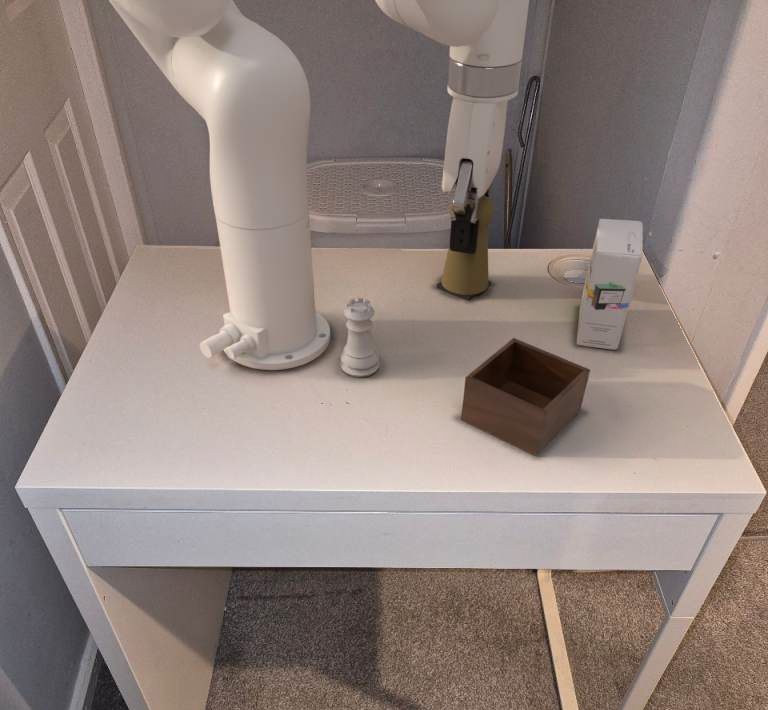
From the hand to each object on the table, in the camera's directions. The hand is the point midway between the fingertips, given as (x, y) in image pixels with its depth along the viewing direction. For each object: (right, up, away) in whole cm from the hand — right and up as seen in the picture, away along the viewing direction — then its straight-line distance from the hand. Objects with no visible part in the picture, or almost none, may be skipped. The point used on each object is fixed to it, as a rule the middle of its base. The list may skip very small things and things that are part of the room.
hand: (468, 238), depth 93 cm
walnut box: (+4, -23, -14) cm, 27 cm away
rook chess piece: (-13, -17, -8) cm, 23 cm away
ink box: (+15, -12, -2) cm, 19 cm away
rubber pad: (0, -4, +5) cm, 6 cm away
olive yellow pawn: (0, -4, +4) cm, 6 cm away
